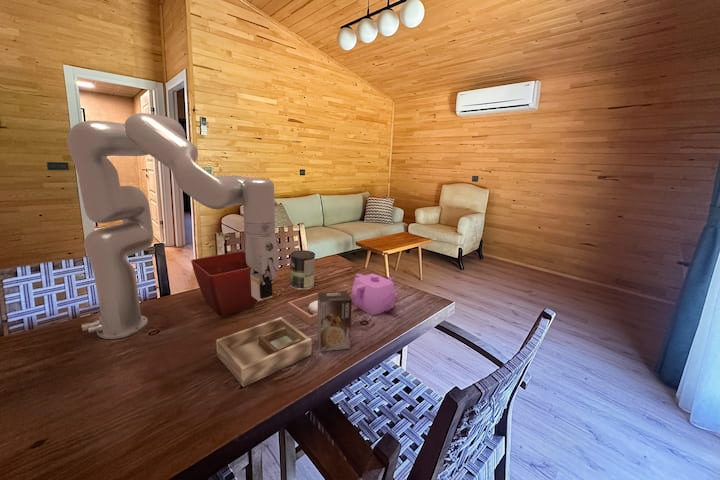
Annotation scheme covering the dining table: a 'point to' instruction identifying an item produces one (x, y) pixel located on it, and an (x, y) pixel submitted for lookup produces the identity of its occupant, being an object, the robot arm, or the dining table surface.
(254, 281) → the small white lidded box
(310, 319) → the garlic dish
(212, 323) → the dining table surface
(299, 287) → the coffee can
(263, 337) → the walled box
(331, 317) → the coffee box
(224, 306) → the plant pot
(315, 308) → the garlic
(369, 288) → the teakettle
